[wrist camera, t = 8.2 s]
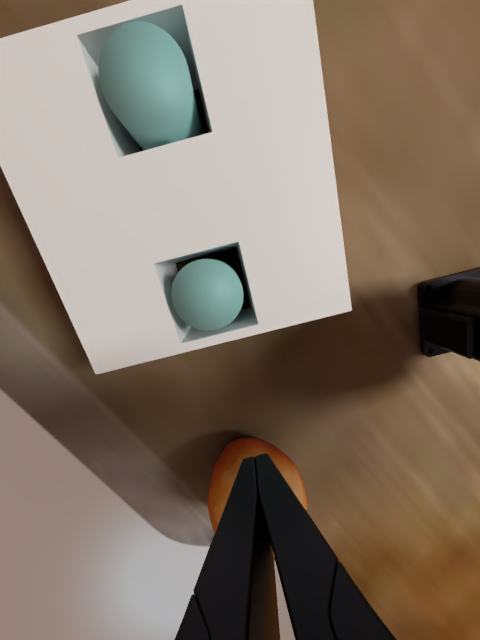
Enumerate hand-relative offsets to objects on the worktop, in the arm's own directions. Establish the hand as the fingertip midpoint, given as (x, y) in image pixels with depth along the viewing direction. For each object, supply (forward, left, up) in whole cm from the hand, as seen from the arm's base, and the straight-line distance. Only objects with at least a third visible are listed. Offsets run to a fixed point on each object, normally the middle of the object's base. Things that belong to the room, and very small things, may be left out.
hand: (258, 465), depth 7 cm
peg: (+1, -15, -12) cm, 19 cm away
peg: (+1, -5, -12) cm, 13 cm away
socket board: (+1, -10, -12) cm, 16 cm away
